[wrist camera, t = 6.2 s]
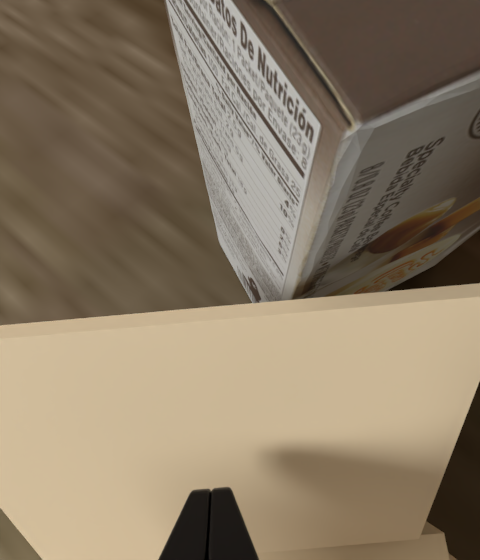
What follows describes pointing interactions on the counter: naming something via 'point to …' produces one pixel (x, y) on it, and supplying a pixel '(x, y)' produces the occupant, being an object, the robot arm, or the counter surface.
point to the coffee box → (334, 136)
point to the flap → (236, 419)
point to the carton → (375, 550)
